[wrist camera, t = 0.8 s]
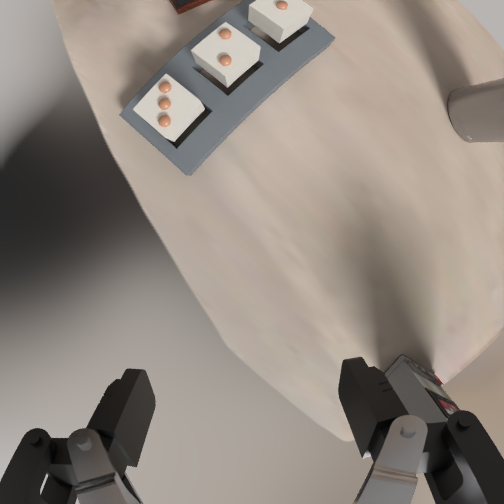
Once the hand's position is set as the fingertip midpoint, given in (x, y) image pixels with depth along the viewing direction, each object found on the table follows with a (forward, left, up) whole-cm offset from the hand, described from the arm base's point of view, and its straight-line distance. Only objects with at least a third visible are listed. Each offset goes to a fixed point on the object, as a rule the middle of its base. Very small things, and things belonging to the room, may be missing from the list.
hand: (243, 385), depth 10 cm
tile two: (-14, -16, -23) cm, 32 cm away
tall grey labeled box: (-2, +42, -27) cm, 50 cm away
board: (-14, -16, -27) cm, 34 cm away
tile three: (-6, -16, -23) cm, 29 cm away
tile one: (-23, -16, -23) cm, 36 cm away
